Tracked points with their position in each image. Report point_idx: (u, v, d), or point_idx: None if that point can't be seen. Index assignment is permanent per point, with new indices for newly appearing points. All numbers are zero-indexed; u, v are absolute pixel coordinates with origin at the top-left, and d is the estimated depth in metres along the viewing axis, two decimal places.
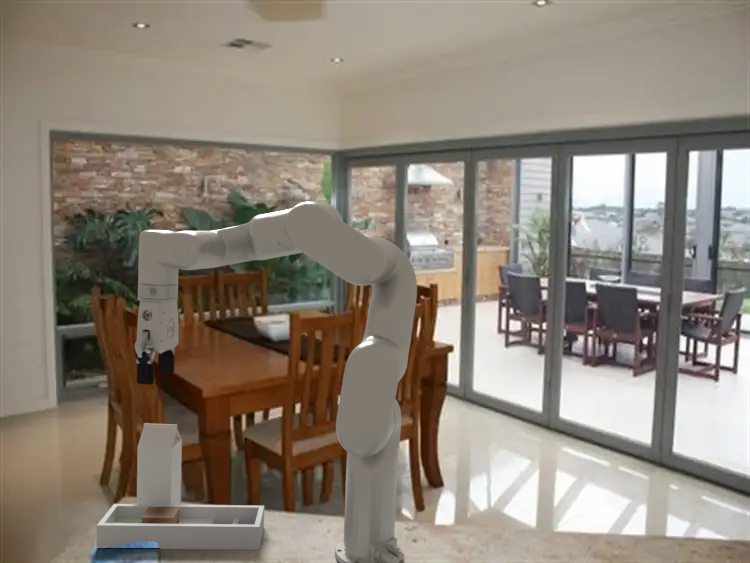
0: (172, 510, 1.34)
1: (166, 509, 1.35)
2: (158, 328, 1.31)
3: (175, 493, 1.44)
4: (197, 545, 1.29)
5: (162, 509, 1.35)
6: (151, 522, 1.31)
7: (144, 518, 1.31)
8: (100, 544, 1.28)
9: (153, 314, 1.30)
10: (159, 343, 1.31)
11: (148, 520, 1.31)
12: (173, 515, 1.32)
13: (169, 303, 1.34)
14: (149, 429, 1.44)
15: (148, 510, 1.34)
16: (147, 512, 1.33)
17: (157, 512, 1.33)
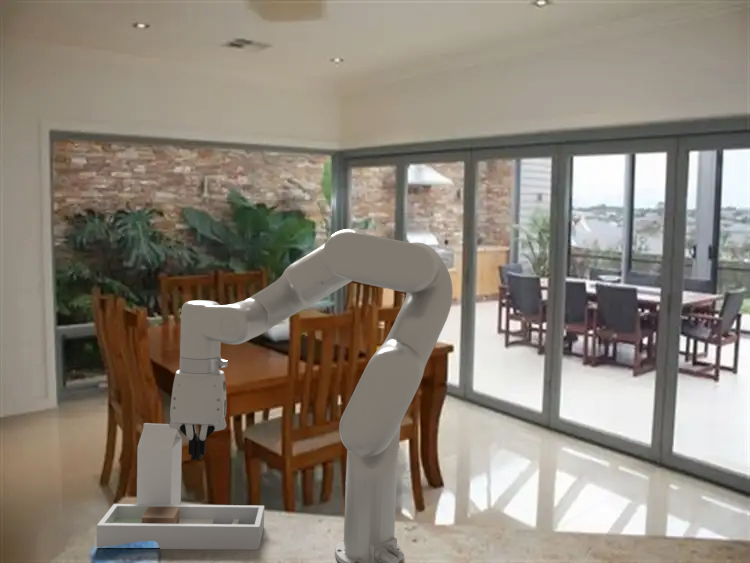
0: (172, 510, 1.34)
1: (166, 509, 1.35)
2: None
3: (175, 493, 1.44)
4: (197, 545, 1.29)
5: (162, 509, 1.35)
6: (151, 522, 1.31)
7: (144, 518, 1.31)
8: (100, 544, 1.28)
9: (225, 383, 1.34)
10: None
11: (148, 520, 1.31)
12: (173, 515, 1.32)
13: None
14: (149, 429, 1.44)
15: (148, 510, 1.34)
16: (147, 512, 1.33)
17: (157, 512, 1.33)
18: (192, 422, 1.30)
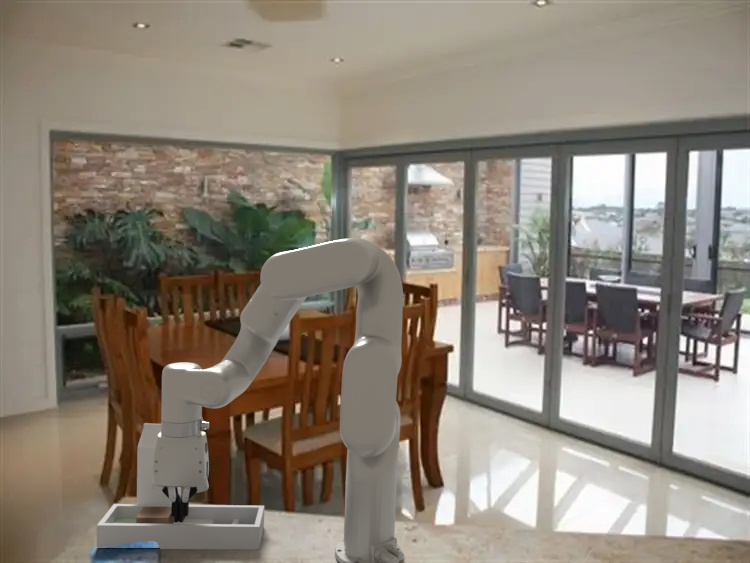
0: (167, 510, 1.34)
1: (160, 509, 1.35)
2: None
3: None
4: (197, 545, 1.29)
5: (157, 509, 1.35)
6: (146, 522, 1.31)
7: (139, 518, 1.31)
8: (100, 544, 1.28)
9: (207, 444, 1.34)
10: None
11: (143, 520, 1.31)
12: (168, 515, 1.32)
13: None
14: (149, 429, 1.44)
15: (143, 510, 1.34)
16: (142, 512, 1.33)
17: (151, 512, 1.33)
18: (174, 485, 1.31)
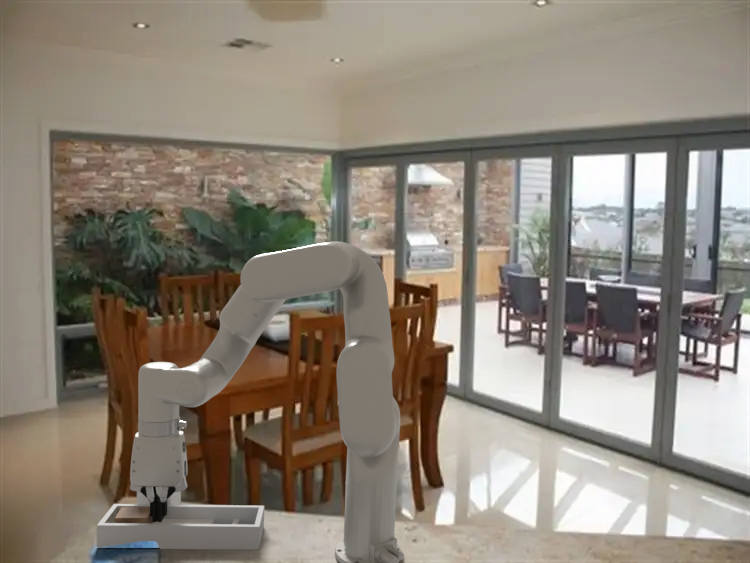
0: (145, 510, 1.34)
1: (139, 509, 1.34)
2: None
3: (175, 493, 1.44)
4: (197, 545, 1.29)
5: (136, 509, 1.34)
6: (124, 522, 1.30)
7: (117, 518, 1.30)
8: (100, 544, 1.28)
9: (185, 443, 1.34)
10: None
11: (121, 520, 1.30)
12: (147, 515, 1.32)
13: None
14: None
15: (121, 510, 1.33)
16: (120, 512, 1.32)
17: (130, 512, 1.33)
18: (152, 484, 1.31)
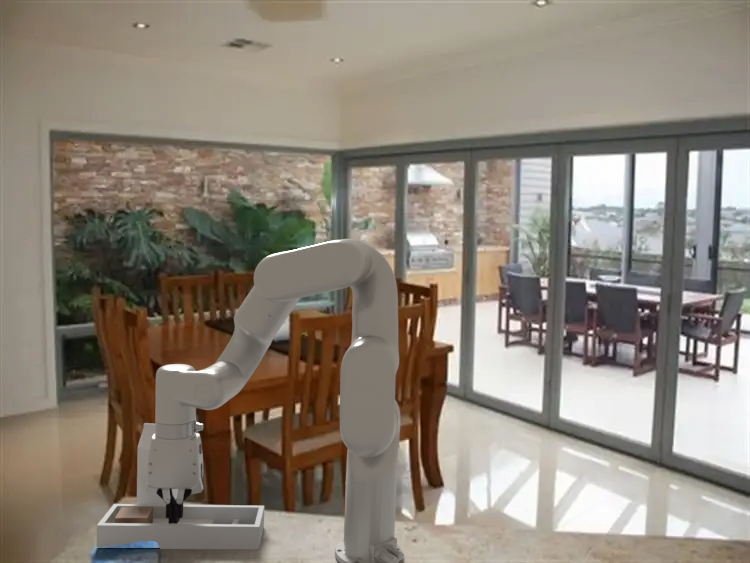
0: (145, 510, 1.34)
1: (139, 509, 1.34)
2: None
3: (175, 493, 1.44)
4: (197, 545, 1.29)
5: (136, 509, 1.34)
6: (124, 522, 1.30)
7: (117, 518, 1.30)
8: (100, 544, 1.28)
9: (201, 445, 1.34)
10: None
11: (121, 520, 1.30)
12: (147, 515, 1.32)
13: None
14: (149, 429, 1.44)
15: (121, 510, 1.33)
16: (120, 512, 1.32)
17: (130, 512, 1.33)
18: (169, 486, 1.31)
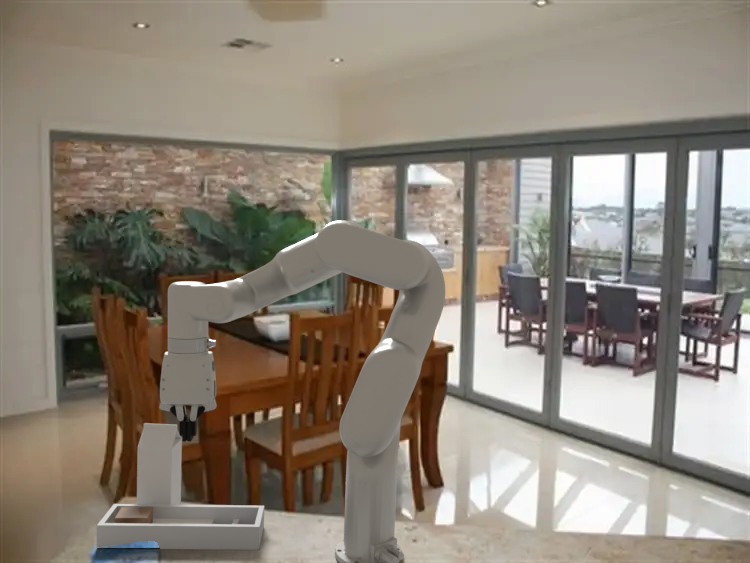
0: (145, 510, 1.34)
1: (139, 509, 1.34)
2: None
3: (175, 493, 1.44)
4: (197, 545, 1.29)
5: (136, 509, 1.34)
6: (124, 522, 1.30)
7: (117, 518, 1.30)
8: (100, 544, 1.28)
9: None
10: None
11: (121, 520, 1.30)
12: (147, 515, 1.32)
13: None
14: (149, 429, 1.44)
15: (121, 510, 1.33)
16: (120, 512, 1.32)
17: (130, 512, 1.33)
18: (182, 403, 1.30)
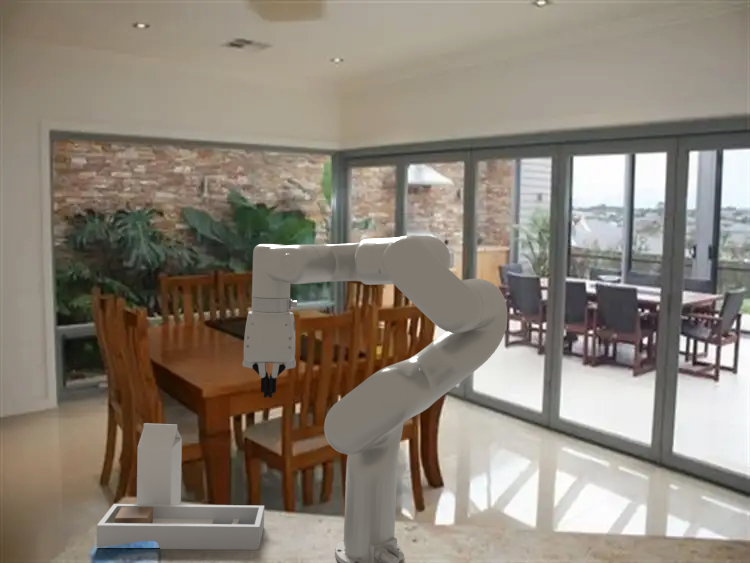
0: (145, 510, 1.34)
1: (139, 509, 1.34)
2: None
3: (175, 493, 1.44)
4: (197, 545, 1.29)
5: (136, 509, 1.34)
6: (124, 522, 1.30)
7: (117, 518, 1.30)
8: (100, 544, 1.28)
9: (294, 323, 1.39)
10: None
11: (121, 520, 1.30)
12: (147, 515, 1.32)
13: None
14: (149, 429, 1.44)
15: (121, 510, 1.33)
16: (120, 512, 1.32)
17: (130, 512, 1.33)
18: (265, 360, 1.36)
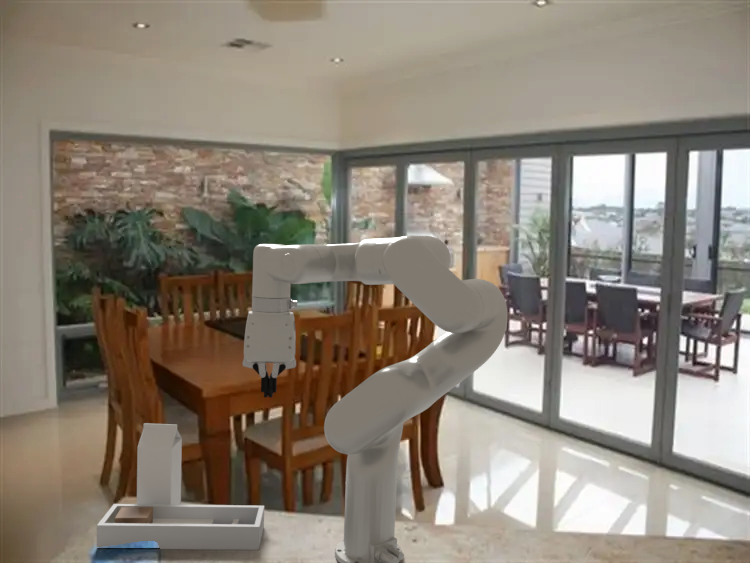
0: (145, 510, 1.34)
1: (139, 509, 1.34)
2: None
3: (175, 493, 1.44)
4: (197, 545, 1.29)
5: (136, 509, 1.34)
6: (124, 522, 1.30)
7: (117, 518, 1.30)
8: (100, 544, 1.28)
9: (294, 323, 1.39)
10: None
11: (121, 520, 1.30)
12: (147, 515, 1.32)
13: None
14: (149, 429, 1.44)
15: (121, 510, 1.33)
16: (120, 512, 1.32)
17: (130, 512, 1.33)
18: (265, 360, 1.36)
